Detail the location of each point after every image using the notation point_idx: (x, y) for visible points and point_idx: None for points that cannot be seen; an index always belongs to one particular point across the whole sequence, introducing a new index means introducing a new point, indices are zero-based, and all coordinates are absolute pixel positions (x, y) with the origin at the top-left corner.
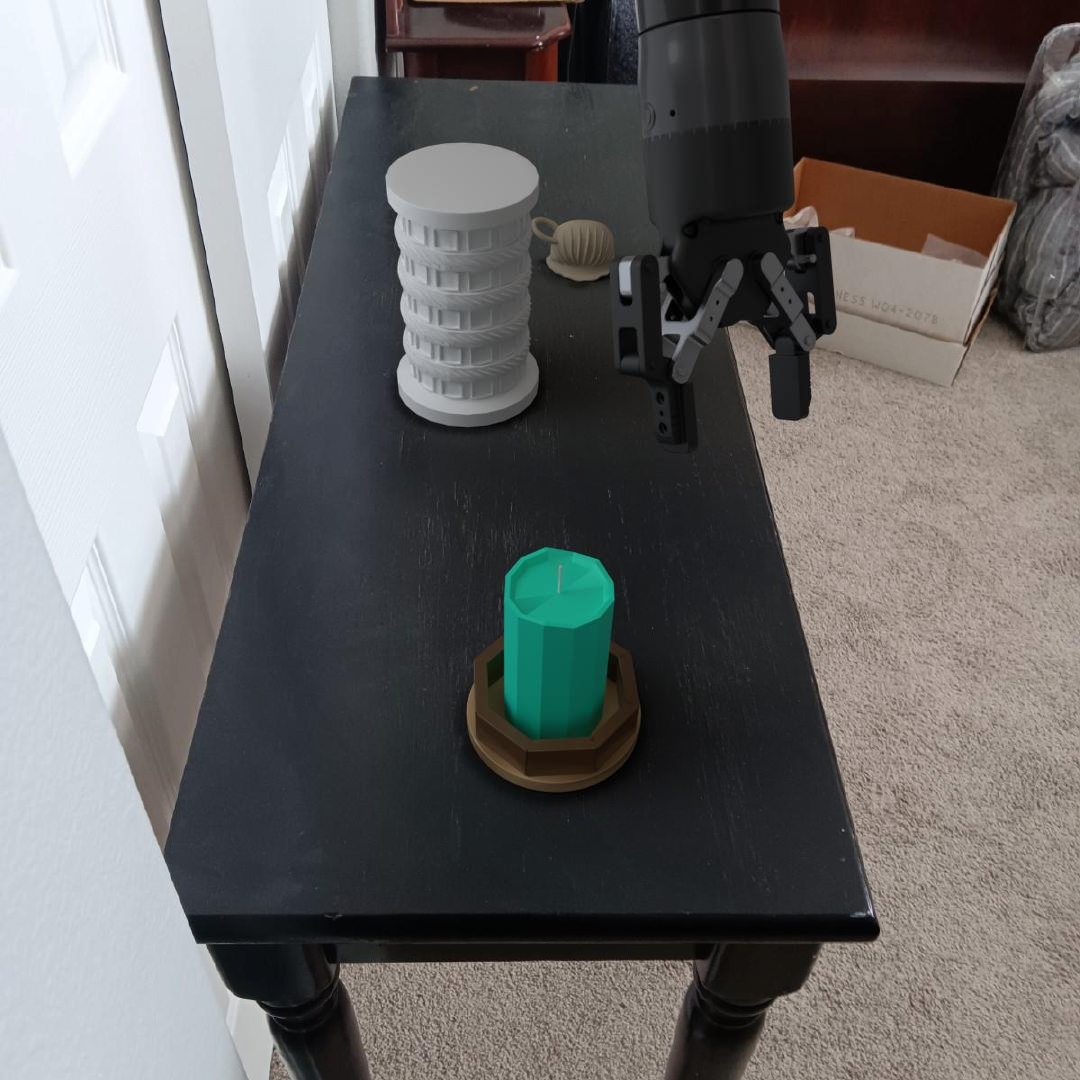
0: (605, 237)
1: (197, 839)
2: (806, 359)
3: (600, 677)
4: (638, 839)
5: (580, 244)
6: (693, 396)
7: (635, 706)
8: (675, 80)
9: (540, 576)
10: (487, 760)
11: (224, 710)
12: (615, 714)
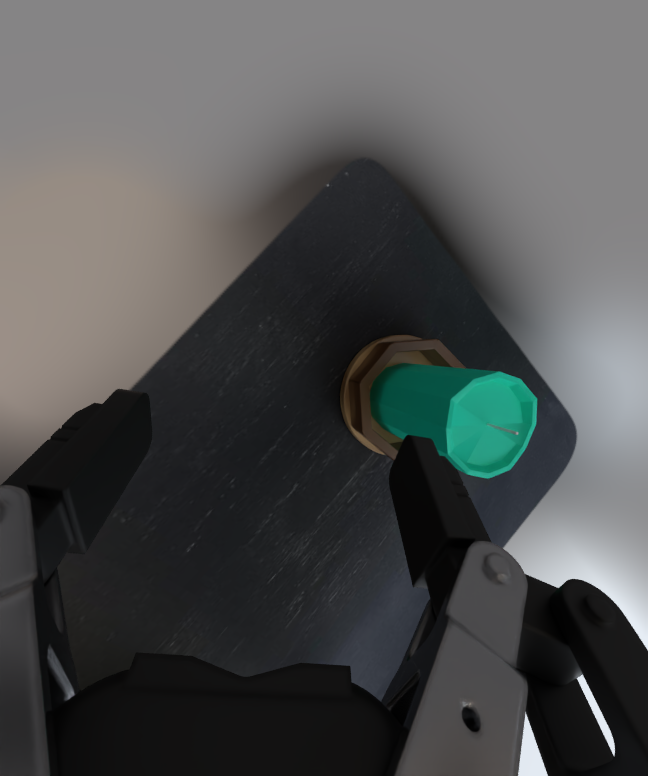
0: None
1: (562, 460)
2: (21, 480)
3: (426, 368)
4: (423, 291)
5: None
6: (440, 507)
7: (395, 344)
8: None
9: (484, 451)
10: None
11: (513, 524)
12: (409, 349)
